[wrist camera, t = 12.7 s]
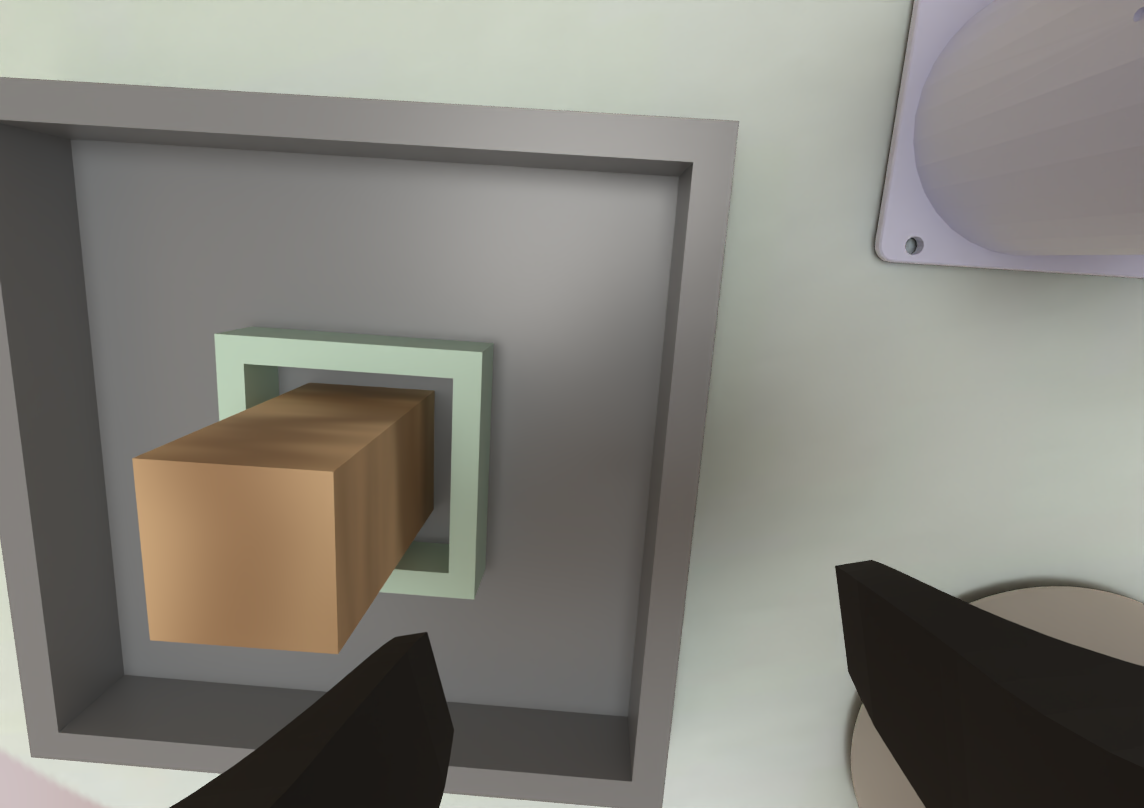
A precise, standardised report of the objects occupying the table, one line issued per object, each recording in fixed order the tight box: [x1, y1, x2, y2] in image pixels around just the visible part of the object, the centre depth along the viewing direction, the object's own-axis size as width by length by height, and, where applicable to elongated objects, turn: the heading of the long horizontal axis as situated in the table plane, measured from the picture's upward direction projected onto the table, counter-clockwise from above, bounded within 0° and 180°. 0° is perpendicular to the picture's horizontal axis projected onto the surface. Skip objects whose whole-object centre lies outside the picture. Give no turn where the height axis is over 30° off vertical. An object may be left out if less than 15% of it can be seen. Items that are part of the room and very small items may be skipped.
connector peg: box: [132, 383, 435, 654], centre depth 17 cm, size 4×4×8 cm
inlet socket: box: [214, 327, 494, 600], centre depth 20 cm, size 8×8×2 cm
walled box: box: [0, 77, 739, 808], centre depth 20 cm, size 20×20×4 cm
